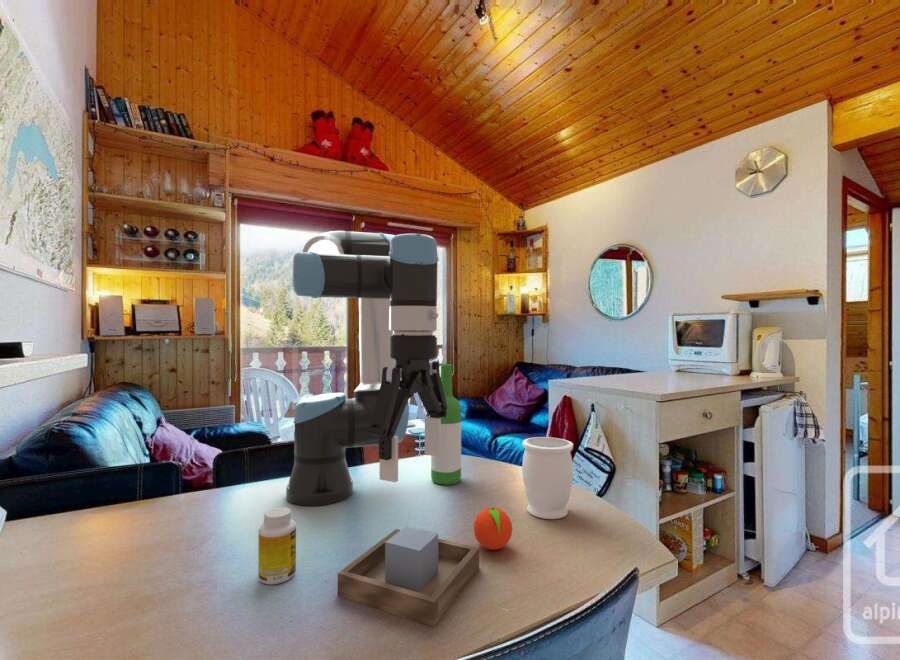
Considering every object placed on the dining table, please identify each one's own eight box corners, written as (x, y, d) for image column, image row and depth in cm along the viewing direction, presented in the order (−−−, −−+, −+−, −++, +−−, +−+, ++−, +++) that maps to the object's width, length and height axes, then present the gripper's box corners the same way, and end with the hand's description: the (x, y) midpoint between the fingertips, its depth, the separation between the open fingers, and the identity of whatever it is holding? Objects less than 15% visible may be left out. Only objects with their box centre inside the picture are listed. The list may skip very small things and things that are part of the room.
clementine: (519, 558, 76) (519, 517, 75) (479, 562, 74) (480, 520, 74) (505, 537, 83) (506, 499, 83) (469, 539, 82) (470, 501, 82)
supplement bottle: (296, 582, 68) (296, 516, 68) (257, 589, 67) (257, 521, 66) (295, 564, 74) (295, 502, 74) (259, 570, 72) (259, 507, 72)
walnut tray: (337, 595, 65) (337, 573, 65) (396, 547, 79) (396, 528, 79) (434, 627, 58) (434, 602, 58) (479, 568, 73) (479, 547, 73)
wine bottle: (467, 480, 114) (467, 364, 114) (447, 488, 109) (447, 366, 108) (444, 473, 120) (445, 362, 119) (424, 481, 114) (424, 364, 114)
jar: (568, 503, 99) (568, 436, 99) (577, 523, 89) (577, 449, 89) (520, 501, 100) (520, 435, 100) (523, 521, 90) (524, 447, 90)
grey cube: (385, 581, 67) (385, 542, 67) (405, 562, 73) (405, 526, 73) (419, 591, 65) (419, 550, 65) (438, 571, 70) (438, 533, 70)
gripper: (389, 336, 57) (388, 498, 58) (466, 332, 80) (465, 449, 80) (343, 335, 61) (342, 488, 61) (429, 331, 83) (429, 444, 83)
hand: (412, 466), depth 71 cm, fingers open, 13 cm apart
